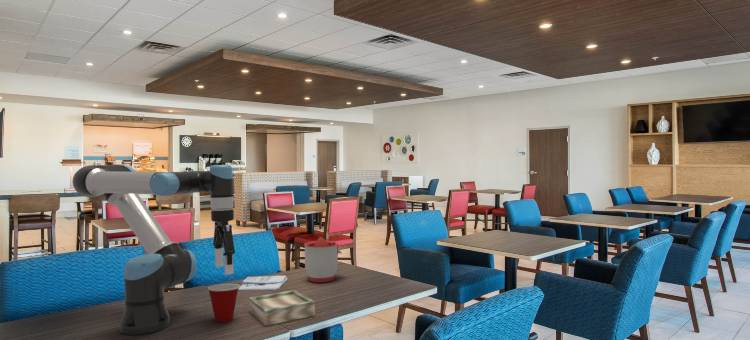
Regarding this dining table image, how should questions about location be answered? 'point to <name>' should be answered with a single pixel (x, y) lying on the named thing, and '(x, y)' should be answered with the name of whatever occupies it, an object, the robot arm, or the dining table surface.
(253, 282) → the white flat piece
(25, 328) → the dining table surface
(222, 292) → the plastic cup
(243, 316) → the dining table surface
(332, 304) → the dining table surface
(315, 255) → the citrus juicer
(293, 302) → the stand
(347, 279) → the dining table surface
